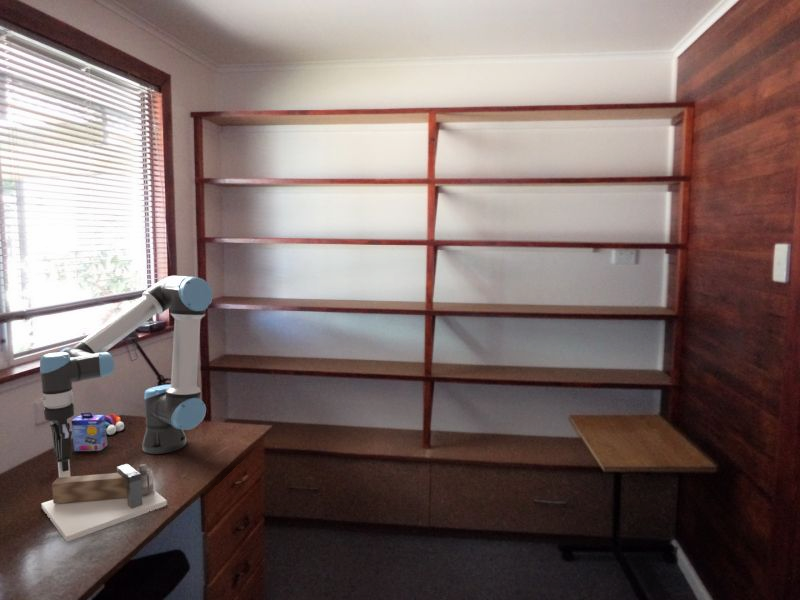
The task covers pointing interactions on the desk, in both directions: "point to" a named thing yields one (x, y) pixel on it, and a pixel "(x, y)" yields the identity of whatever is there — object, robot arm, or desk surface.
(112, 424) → the multicoloured rounded cluster
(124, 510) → the board
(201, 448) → the desk surface
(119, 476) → the link
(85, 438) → the ink cartridge box
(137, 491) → the bracket
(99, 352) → the robot arm
